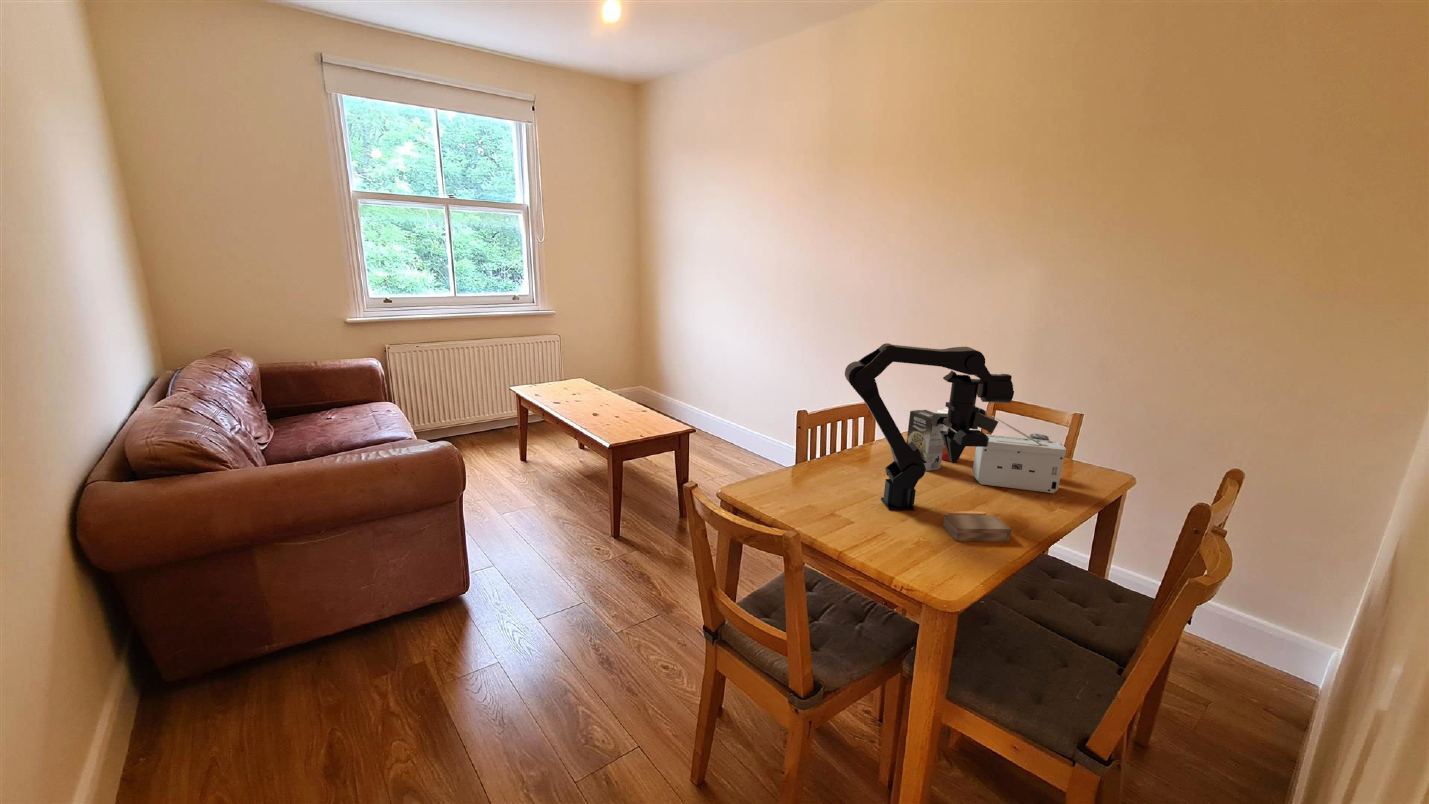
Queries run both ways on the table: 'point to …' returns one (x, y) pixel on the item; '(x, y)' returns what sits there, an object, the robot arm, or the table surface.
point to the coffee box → (926, 437)
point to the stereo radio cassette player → (1019, 463)
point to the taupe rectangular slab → (976, 528)
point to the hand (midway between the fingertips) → (953, 462)
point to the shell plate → (964, 513)
